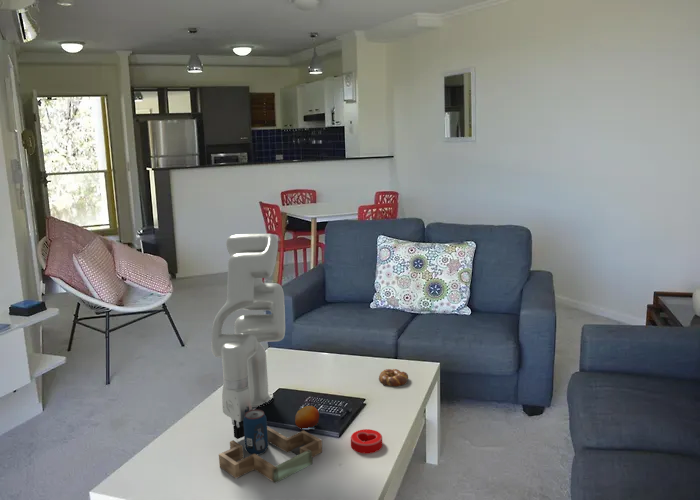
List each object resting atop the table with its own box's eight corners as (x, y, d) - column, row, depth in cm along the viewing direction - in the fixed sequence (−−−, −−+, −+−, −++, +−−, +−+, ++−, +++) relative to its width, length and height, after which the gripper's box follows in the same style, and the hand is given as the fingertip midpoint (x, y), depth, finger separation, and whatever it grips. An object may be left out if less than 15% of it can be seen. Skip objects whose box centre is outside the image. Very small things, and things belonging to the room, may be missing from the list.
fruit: (321, 430, 196) (308, 409, 195) (301, 440, 198) (288, 419, 197) (327, 418, 203) (314, 398, 203) (308, 428, 206) (295, 408, 205)
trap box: (212, 461, 182) (211, 449, 181) (282, 430, 199) (281, 419, 198) (256, 492, 166) (255, 479, 165) (328, 455, 183) (327, 443, 183)
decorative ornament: (352, 455, 184) (351, 445, 183) (350, 438, 193) (349, 429, 193) (384, 453, 184) (384, 443, 184) (380, 437, 194) (380, 427, 193)
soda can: (254, 442, 192) (252, 406, 190) (272, 447, 189) (270, 411, 187) (240, 453, 186) (238, 416, 184) (259, 458, 183) (257, 420, 181)
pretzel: (371, 381, 236) (371, 372, 235) (392, 373, 243) (392, 364, 242) (393, 390, 227) (393, 381, 226) (414, 381, 234) (414, 372, 233)
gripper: (212, 378, 193) (216, 432, 196) (239, 392, 182) (243, 449, 186) (232, 371, 198) (236, 424, 201) (260, 385, 187) (263, 440, 191)
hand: (239, 436), depth 194 cm, fingers closed
